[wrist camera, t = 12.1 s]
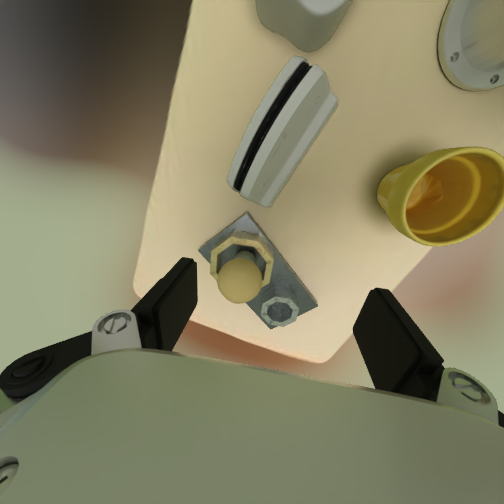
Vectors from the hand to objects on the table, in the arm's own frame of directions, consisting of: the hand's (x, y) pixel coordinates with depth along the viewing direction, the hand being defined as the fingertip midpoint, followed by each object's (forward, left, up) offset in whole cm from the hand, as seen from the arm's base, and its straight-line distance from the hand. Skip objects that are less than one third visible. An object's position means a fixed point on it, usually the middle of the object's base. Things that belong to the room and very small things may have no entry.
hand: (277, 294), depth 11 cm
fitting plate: (+10, +9, -24) cm, 27 cm away
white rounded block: (-5, -6, -24) cm, 26 cm away
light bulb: (+9, +5, -23) cm, 25 cm away
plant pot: (-16, +9, -24) cm, 31 cm away
